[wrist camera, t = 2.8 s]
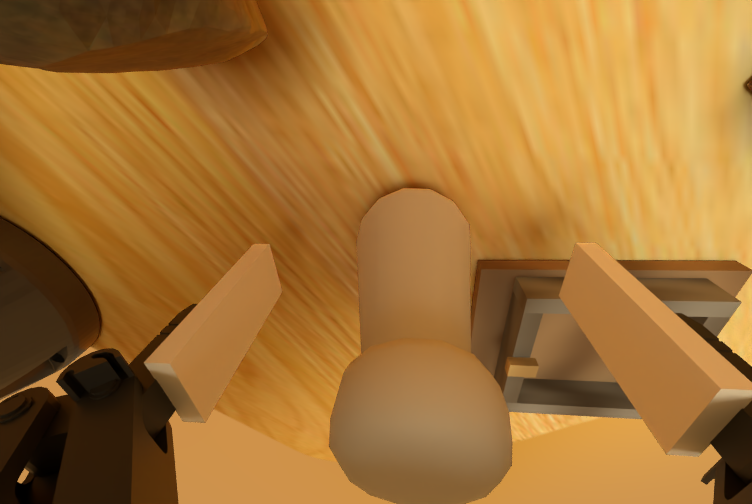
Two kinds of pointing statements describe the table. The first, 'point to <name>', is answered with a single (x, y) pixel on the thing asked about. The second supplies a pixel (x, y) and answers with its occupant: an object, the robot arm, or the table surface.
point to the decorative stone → (126, 33)
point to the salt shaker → (418, 363)
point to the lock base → (578, 329)
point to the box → (750, 85)
